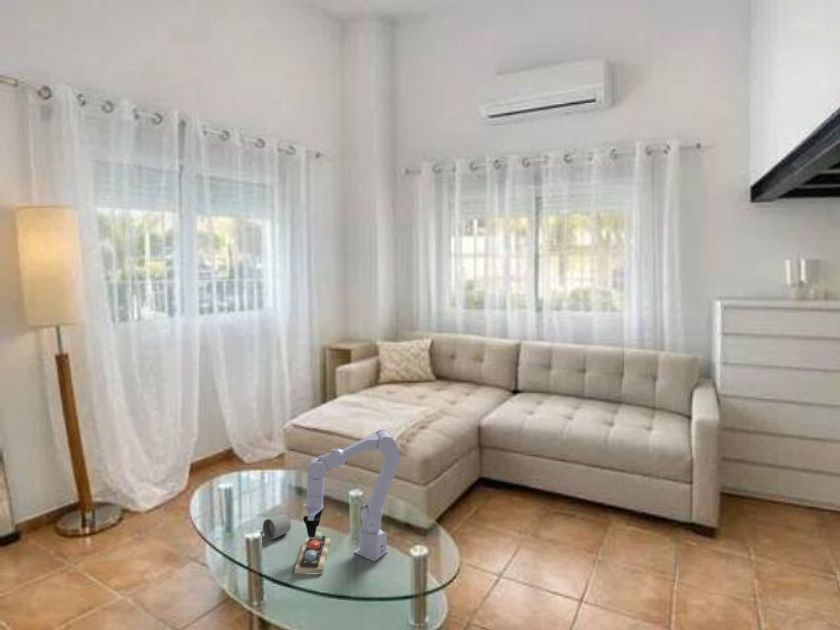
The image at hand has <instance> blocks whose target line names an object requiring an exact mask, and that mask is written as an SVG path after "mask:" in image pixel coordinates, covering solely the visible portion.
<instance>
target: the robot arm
mask: <svg viewBox="0 0 840 630" xmlns="http://www.w3.org/2000/svg"><path fill="white" fill-rule="evenodd" d="M366 451H371V452H374V453H378V451H379V452H380V453H381V454H382V455H383V456H384V461H383V464H382V465H381V469H380V472H379V474H378V477H377V479H376V483H375V484H374V488H373V490H372V493H371V496H370V498H369V499H368V500H367V501H366V503H365V505H364V506H363V507H362V508H361V510H360V511H359V516H360V519H361V521H362V523H361V524H360V526H359V548H357V549H356V550H354V552H353V553H354V554H356V555H358V556H361V557H363V558H365V559H368V560H371V561H372V562H376V561H377V560H378V559H380V558H382V557H383V556H384V555H385V554H387V553H388V549H387V548H388V547H387V546H388V544H387V543H388V536H387V533H386V532H384V531H383V530H382V528H381V527H382V517H383V515H384V514H383V512H384V510H383V508H384V504H385V501H386V498H387V495H388V493H389V490H390V488H391V485H392V483H393V479H394V477H395V476H396V475H395V474H396V472H397V469H398V467H399V464H400V462H401V461H400V460H401V457H400V453H399V445H398V443H397V442H396V441H395V439H394V437H393V436H392V435H391V434H390V432H389V431H388V430H386V429H378V430H377V431H376V432H375V431H374V432H372V433H370V434H369V435H367V436H366V437H364V438H362V439H360V440H359V441H357V442H355V443H353V444H351V445H348V446H347V447H345V448H343V449H341V448H336V449H335V448H332V449H330V452H328V453H326V454H323V455H321V454H320V455H319V456H318V457H313V458H311V459H310V460H309V461H308V462H307V465H306V468H307V471H308V473H307V482H306V483H307V484H306V502H305V503H304V504H303V505H302V508H303V509H305V510H306V513H307V515H304V516H303V523H304V525H305V526H306V531H307V536H308V537H307V538H310V537H315V534H316V532H317V528H318V527H319V525H320V521H321V516H322V513H323V511H324V509H325V504H324V493H325V492H324V491H325V490H324V489H325V484H324V483H325V480H324V477H325V475H326V473H328V472H331V471H333V470H334V469H337V468H338V467H340V466H342V465H344V464H345V463H346V461H347V459H349V458H352V457H354V456H357V455H359V454H361V453H363V452H366Z"/></svg>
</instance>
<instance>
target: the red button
mask: <svg viewBox="0 0 840 630" xmlns="http://www.w3.org/2000/svg"><path fill="white" fill-rule="evenodd" d="M319 549H320V542H319V541H316V540H313V541H310V542H309V543H308V550H315V551H318V550H319Z"/></svg>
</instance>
